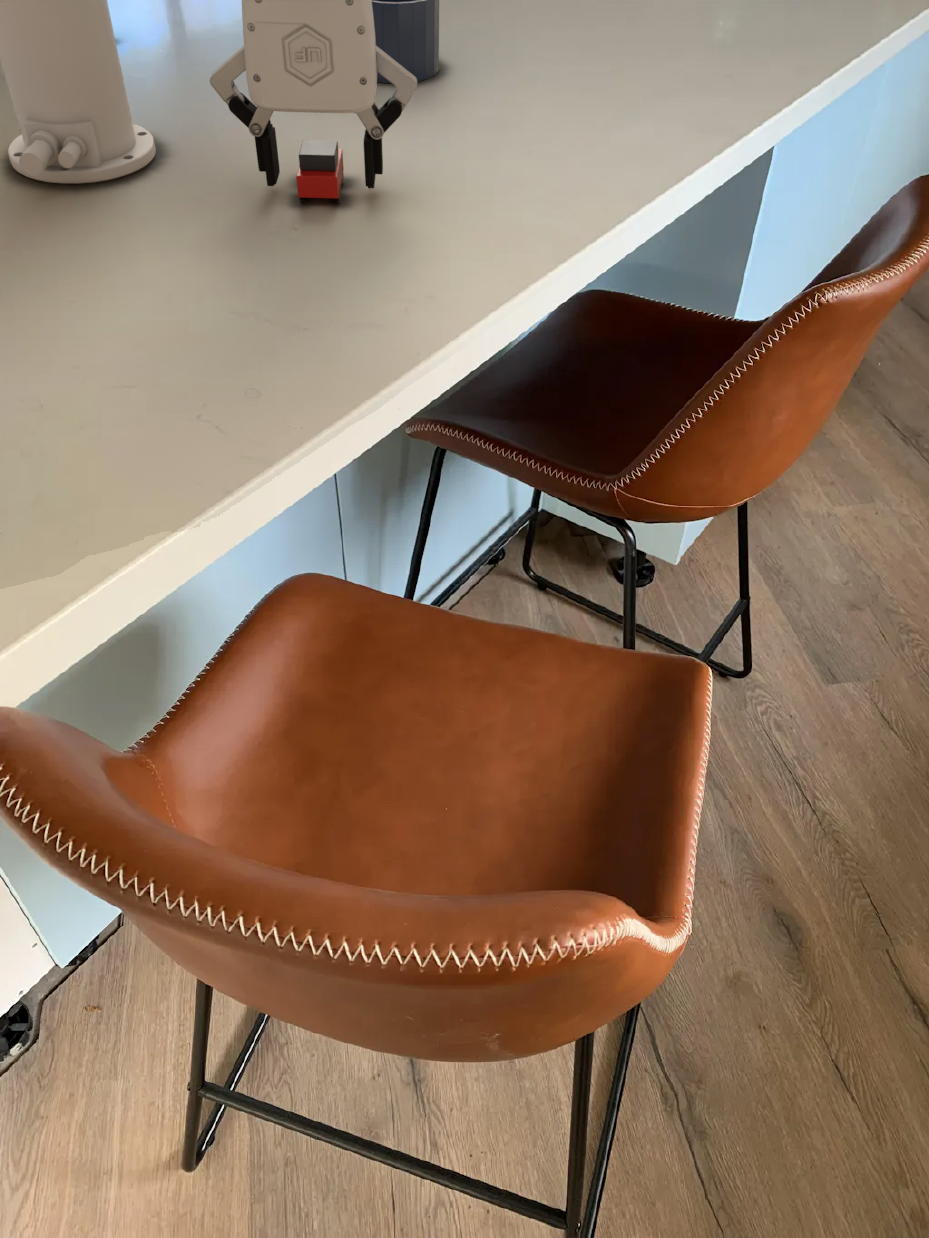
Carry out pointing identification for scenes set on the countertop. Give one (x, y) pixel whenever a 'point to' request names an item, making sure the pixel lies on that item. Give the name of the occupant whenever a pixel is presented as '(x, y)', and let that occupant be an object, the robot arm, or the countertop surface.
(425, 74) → the cup
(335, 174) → the car
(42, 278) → the countertop surface
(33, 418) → the countertop surface
